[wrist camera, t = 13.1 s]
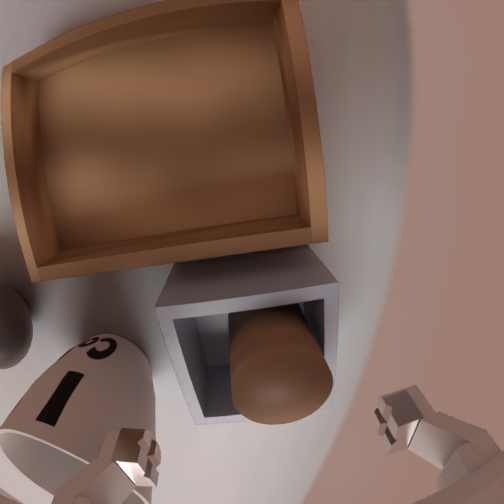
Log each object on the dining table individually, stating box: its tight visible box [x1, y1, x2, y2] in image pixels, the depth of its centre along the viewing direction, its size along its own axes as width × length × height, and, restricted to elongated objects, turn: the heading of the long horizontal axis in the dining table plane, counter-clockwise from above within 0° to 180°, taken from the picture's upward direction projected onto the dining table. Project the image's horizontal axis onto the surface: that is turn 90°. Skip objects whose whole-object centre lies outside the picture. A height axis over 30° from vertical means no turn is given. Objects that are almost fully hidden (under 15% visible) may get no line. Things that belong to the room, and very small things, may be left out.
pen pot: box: [154, 245, 339, 425], centre depth 15 cm, size 7×7×5 cm
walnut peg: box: [228, 303, 333, 424], centre depth 13 cm, size 4×4×6 cm
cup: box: [0, 334, 156, 504], centre depth 13 cm, size 8×8×10 cm
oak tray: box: [1, 0, 328, 282], centre depth 12 cm, size 11×14×4 cm
